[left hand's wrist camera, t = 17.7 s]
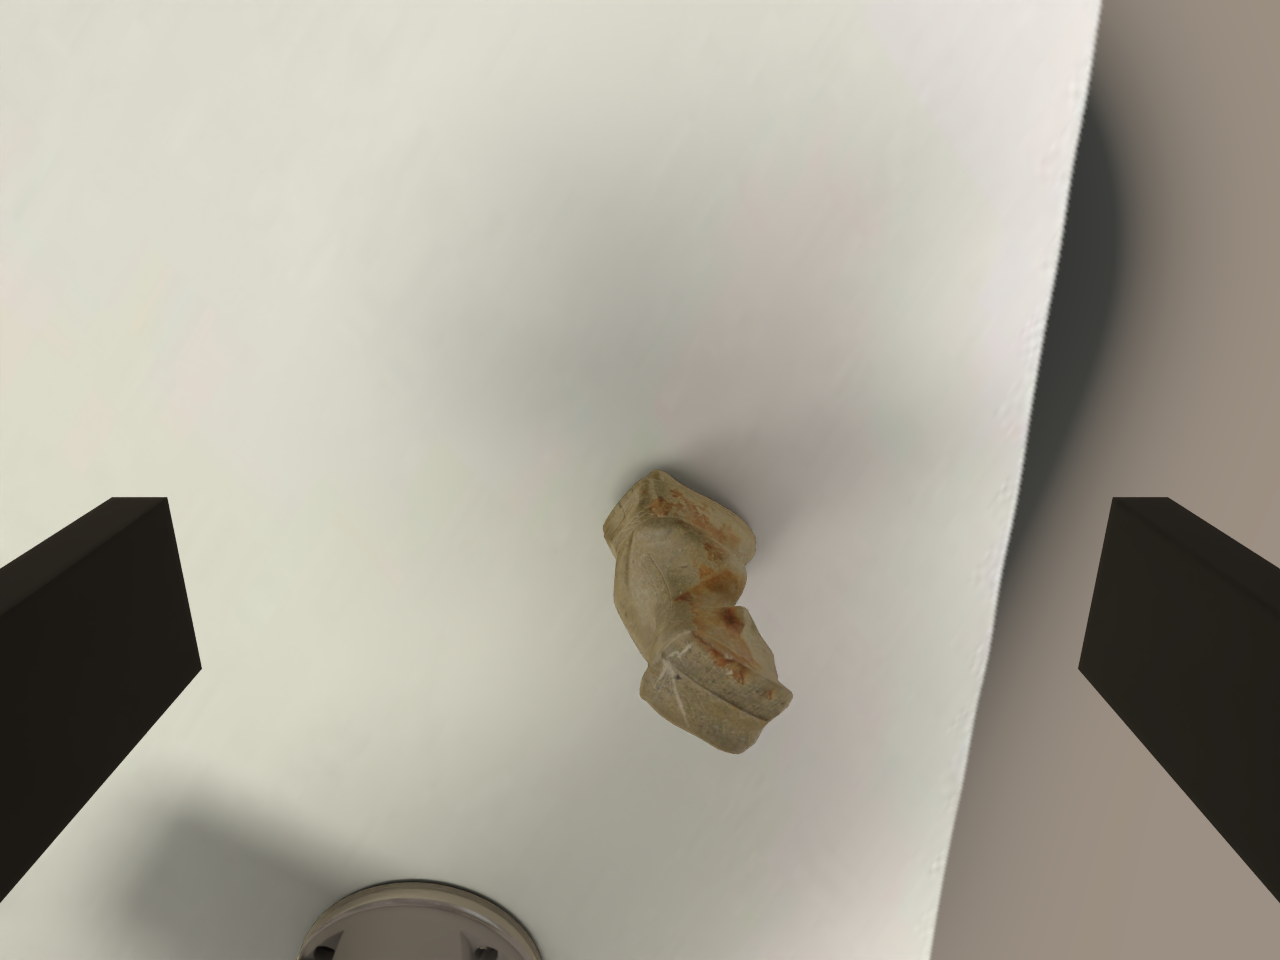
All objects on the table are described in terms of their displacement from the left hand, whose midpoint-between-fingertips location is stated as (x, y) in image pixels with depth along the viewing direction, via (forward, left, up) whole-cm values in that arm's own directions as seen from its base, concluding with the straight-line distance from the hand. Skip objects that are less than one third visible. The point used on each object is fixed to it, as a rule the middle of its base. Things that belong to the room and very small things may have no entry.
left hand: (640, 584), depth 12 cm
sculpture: (-11, -2, -29) cm, 32 cm away
